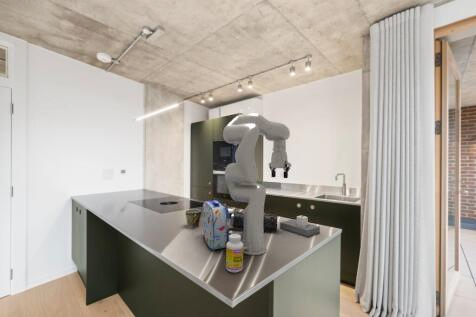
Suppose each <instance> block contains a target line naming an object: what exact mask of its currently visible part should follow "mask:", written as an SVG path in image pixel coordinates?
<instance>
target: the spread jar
mask: <svg viewBox="0 0 476 317" xmlns="http://www.w3.org/2000/svg"><path fill="white" fill-rule="evenodd" d="M227 209H228V211H229V231H231V230H234V229H235V227H234V226H231V215H232V213H234V209H232V208H227Z"/></svg>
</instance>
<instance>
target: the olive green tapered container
mask: <svg viewBox="0 0 476 317" xmlns="http://www.w3.org/2000/svg"><path fill="white" fill-rule="evenodd" d="M184 214H185V218H186V224H187V227H188V228H189V229H197V228H198V227H199V226H200V219H201V217H202V209H187V210H185V212H184Z"/></svg>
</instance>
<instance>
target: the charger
mask: <svg viewBox="0 0 476 317" xmlns="http://www.w3.org/2000/svg"><path fill="white" fill-rule="evenodd" d="M308 218H309V217H308V216H305V215H297V216H296V220H297V226H300V227H307V226H308V224H309V219H308Z"/></svg>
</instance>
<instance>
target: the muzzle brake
mask: <svg viewBox="0 0 476 317" xmlns="http://www.w3.org/2000/svg"><path fill="white" fill-rule="evenodd" d="M231 226H234V229H235V228H237V229H238V228H240V229H241V230H244V212H242V211H234V212H233V213H232V215H231ZM264 231H268V232H277V231H278V214H273V213H272V214H269V213H264Z"/></svg>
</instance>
